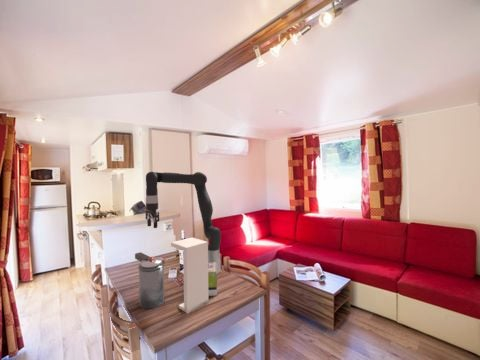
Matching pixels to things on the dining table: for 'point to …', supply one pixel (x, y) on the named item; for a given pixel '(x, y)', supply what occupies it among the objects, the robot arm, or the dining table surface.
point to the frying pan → (167, 259)
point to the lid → (148, 261)
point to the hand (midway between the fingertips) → (152, 227)
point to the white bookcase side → (194, 272)
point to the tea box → (212, 279)
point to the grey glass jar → (151, 287)
